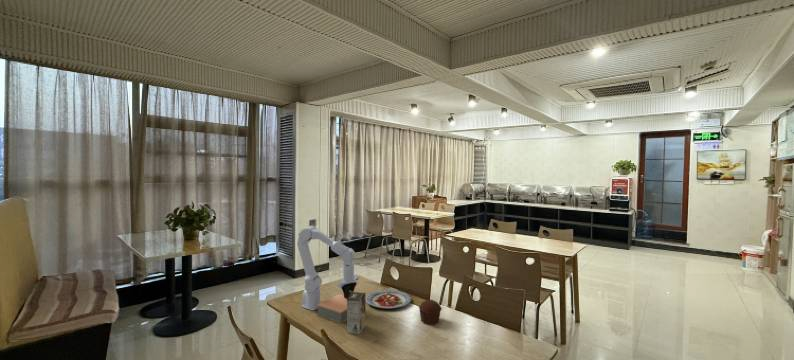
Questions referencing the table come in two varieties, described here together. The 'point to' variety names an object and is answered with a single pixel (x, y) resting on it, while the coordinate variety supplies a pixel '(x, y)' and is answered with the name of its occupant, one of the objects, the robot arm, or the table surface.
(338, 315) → the box
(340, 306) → the lid
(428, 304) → the muffin
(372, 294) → the ceramic plate
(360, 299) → the coffee box
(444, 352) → the table surface
